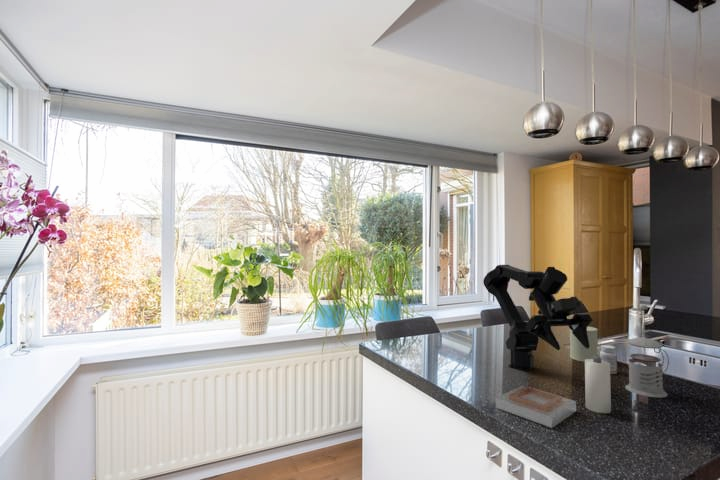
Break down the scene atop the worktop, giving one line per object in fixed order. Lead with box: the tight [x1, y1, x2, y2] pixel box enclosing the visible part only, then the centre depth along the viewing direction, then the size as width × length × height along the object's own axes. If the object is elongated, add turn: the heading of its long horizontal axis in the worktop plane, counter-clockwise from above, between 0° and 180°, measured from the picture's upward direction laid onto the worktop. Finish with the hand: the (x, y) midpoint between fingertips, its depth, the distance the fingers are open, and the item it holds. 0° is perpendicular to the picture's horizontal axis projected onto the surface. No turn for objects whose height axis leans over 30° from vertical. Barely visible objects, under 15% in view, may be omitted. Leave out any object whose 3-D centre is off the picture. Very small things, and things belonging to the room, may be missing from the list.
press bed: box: [495, 385, 577, 429], centre depth 93 cm, size 14×14×4 cm
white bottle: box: [584, 356, 612, 414], centre depth 94 cm, size 6×6×13 cm
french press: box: [624, 304, 670, 399], centre depth 106 cm, size 10×12×25 cm
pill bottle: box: [599, 344, 618, 375], centre depth 122 cm, size 5×5×8 cm
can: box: [569, 326, 599, 363], centre depth 137 cm, size 9×9×12 cm
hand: (573, 348), depth 102 cm, fingers open, 9 cm apart
